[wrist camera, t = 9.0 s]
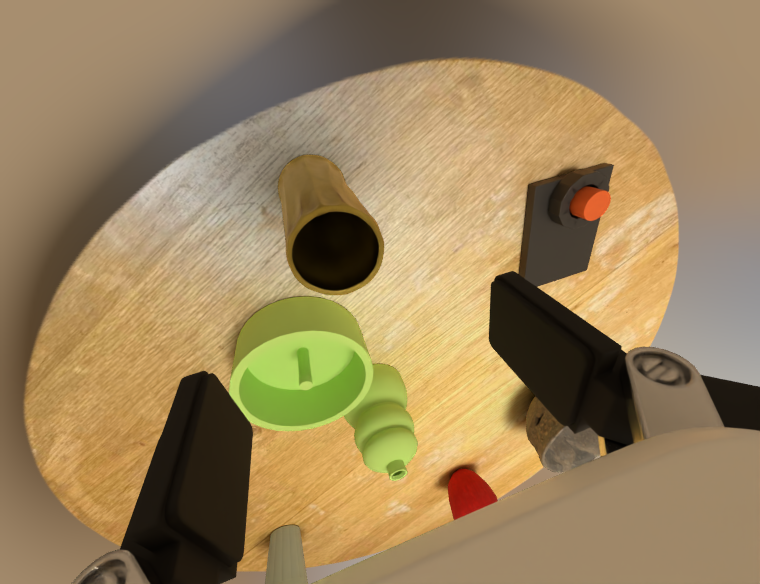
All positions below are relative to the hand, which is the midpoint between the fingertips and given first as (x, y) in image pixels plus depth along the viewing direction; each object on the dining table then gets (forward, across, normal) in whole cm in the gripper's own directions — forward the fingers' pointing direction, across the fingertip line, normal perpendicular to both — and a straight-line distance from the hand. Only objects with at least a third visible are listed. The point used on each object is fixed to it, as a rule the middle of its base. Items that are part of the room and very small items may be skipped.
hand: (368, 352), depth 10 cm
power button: (+19, -28, +7) cm, 35 cm away
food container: (+22, +4, +22) cm, 31 cm away
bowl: (+22, -34, +48) cm, 63 cm away
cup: (+22, +24, +61) cm, 69 cm away
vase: (+22, 0, 0) cm, 22 cm away
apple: (+22, -13, +66) cm, 71 cm away
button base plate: (+22, -28, +12) cm, 37 cm away
